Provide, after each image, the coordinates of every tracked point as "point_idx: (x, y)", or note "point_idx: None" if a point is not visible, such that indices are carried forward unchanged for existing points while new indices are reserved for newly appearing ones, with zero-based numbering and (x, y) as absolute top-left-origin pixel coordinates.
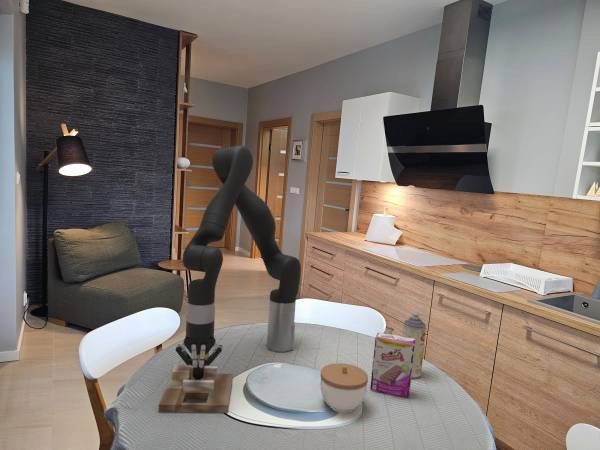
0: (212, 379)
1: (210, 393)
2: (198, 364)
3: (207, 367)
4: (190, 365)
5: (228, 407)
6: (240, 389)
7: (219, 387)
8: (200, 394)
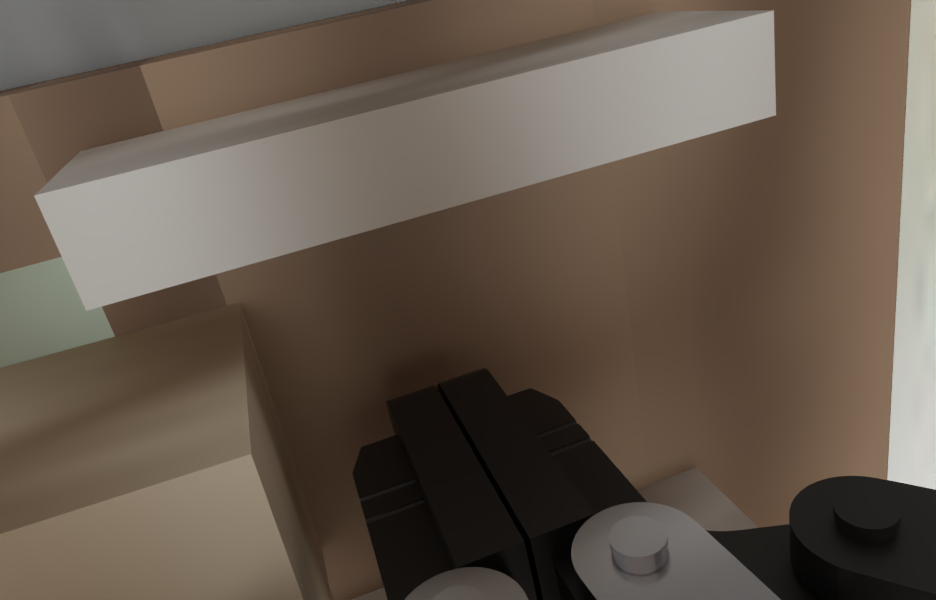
0: (622, 217)
1: None
2: (507, 553)
3: (567, 132)
4: (230, 510)
5: None
6: (921, 157)
7: (759, 402)
8: None
